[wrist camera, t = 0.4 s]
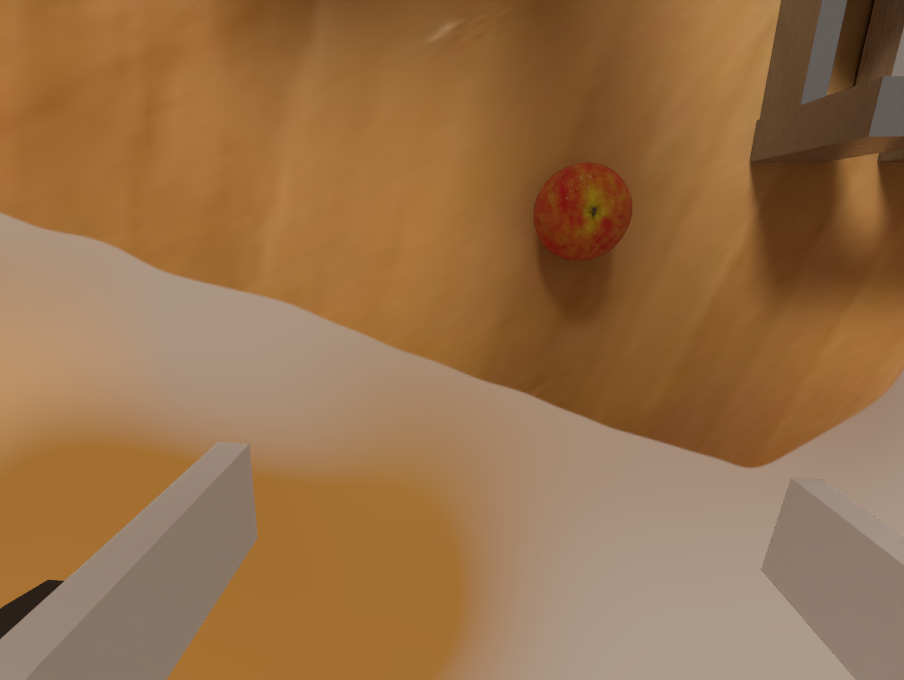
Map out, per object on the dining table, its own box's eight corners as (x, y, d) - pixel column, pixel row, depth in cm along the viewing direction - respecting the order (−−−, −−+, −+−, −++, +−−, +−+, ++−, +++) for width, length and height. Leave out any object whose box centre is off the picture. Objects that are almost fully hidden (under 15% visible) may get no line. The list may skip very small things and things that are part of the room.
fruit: (628, 199, 34) (677, 191, 26) (578, 272, 36) (611, 285, 28) (558, 152, 33) (588, 130, 25) (511, 229, 35) (525, 230, 27)
